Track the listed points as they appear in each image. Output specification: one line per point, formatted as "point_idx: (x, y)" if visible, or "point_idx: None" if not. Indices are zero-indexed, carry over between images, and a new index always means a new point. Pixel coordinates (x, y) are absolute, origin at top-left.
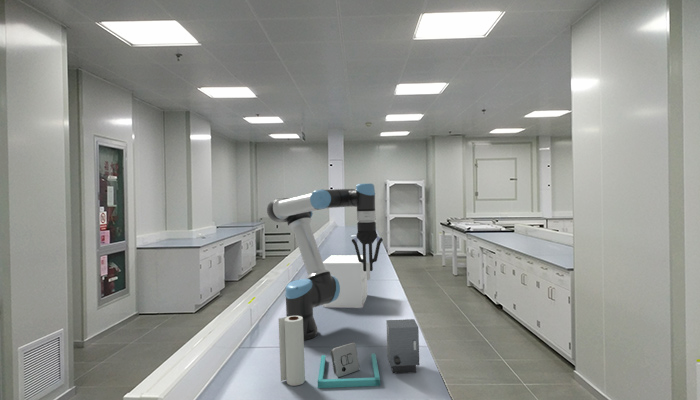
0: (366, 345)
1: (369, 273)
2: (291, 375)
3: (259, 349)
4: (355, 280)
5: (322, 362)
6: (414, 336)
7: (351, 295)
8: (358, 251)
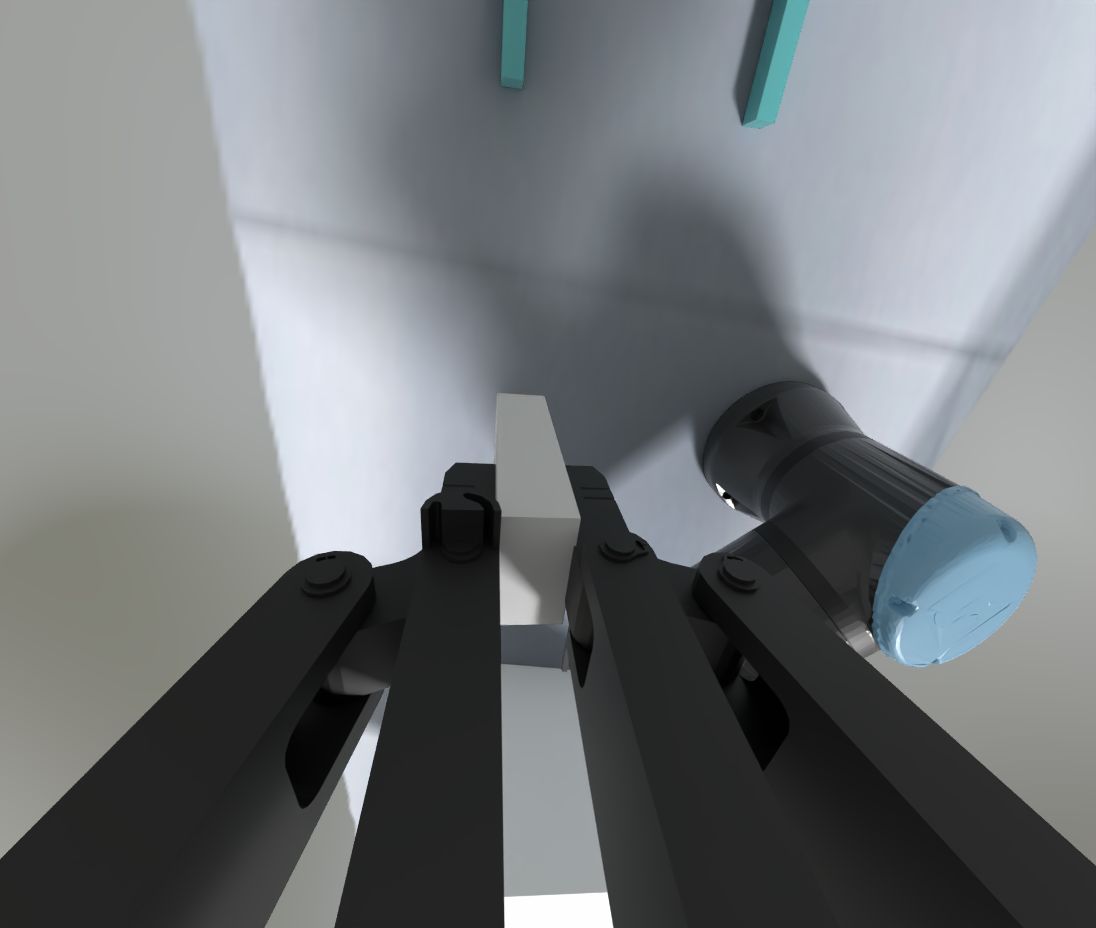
0: (524, 282)
1: (505, 426)
2: None
3: (953, 322)
4: (523, 782)
5: (797, 5)
6: None
7: (537, 711)
8: (1028, 903)
